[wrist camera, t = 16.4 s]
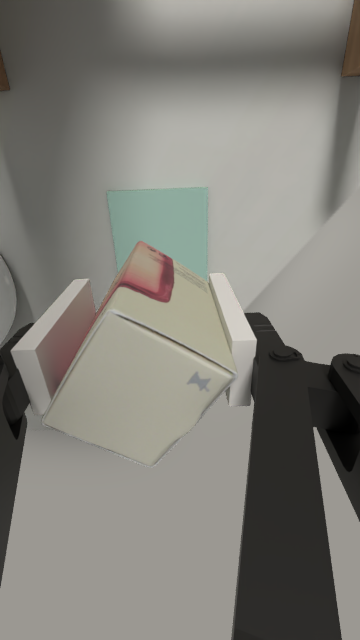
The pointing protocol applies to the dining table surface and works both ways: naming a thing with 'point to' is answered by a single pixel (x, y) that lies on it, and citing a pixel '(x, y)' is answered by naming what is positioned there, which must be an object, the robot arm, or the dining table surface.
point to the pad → (162, 224)
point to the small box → (145, 362)
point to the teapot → (6, 300)
